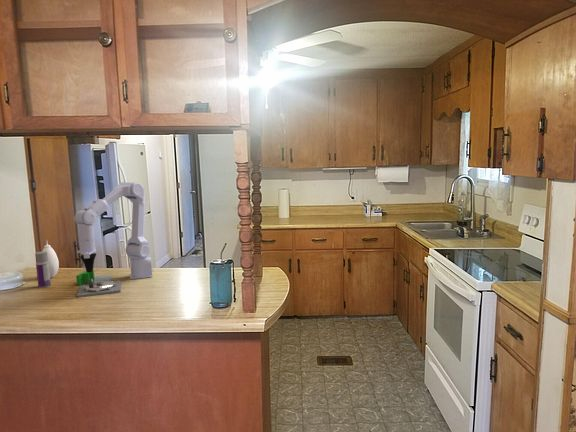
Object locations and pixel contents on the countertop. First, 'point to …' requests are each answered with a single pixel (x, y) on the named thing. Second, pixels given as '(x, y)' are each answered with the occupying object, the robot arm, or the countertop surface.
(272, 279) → the countertop surface
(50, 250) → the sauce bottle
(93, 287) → the sprocket
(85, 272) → the pipe clamp
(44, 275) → the container
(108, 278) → the mat
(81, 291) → the mount plate
